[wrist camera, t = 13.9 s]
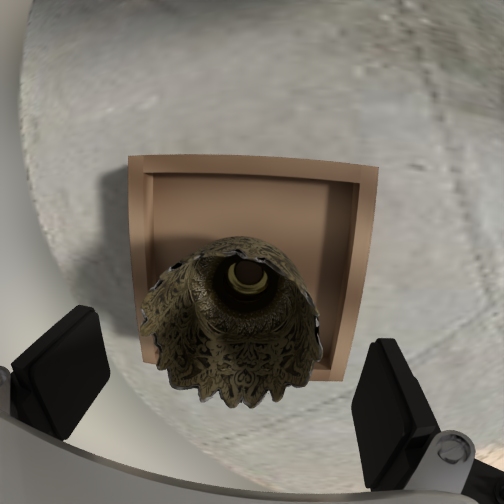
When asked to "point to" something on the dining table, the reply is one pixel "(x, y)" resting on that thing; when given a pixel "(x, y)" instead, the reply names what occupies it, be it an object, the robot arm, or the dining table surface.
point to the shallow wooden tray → (259, 229)
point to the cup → (233, 323)
